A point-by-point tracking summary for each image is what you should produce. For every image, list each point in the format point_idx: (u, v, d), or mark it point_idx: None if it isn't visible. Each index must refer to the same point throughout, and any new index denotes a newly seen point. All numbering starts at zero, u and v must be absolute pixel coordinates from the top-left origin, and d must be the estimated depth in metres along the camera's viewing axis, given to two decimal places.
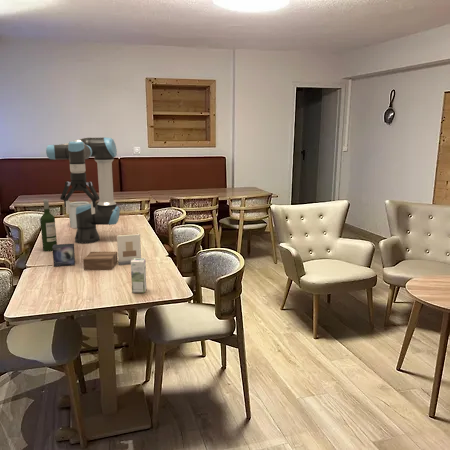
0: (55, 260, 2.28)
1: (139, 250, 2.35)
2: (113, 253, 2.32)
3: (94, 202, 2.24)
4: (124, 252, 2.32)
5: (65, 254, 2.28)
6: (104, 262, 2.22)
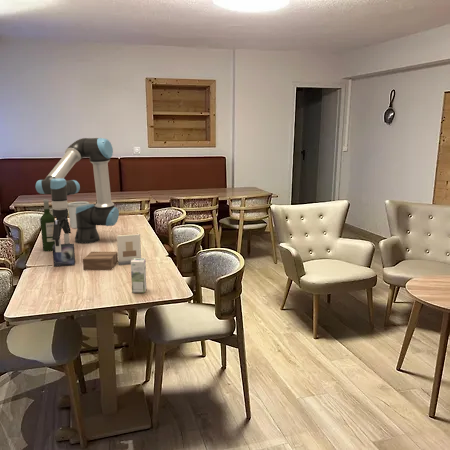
0: (55, 260, 2.28)
1: (139, 250, 2.35)
2: (113, 253, 2.32)
3: (55, 241, 2.21)
4: (124, 252, 2.32)
5: (65, 254, 2.28)
6: (103, 262, 2.22)
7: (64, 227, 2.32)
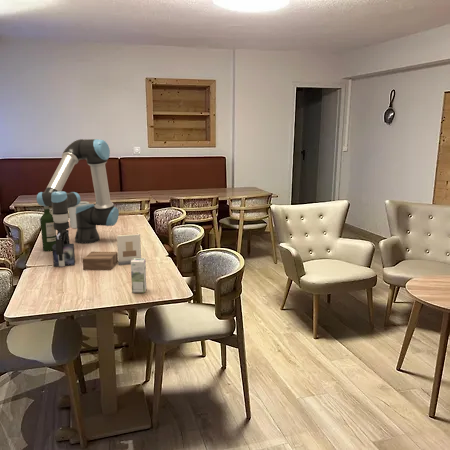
0: (55, 260, 2.28)
1: (139, 250, 2.35)
2: (113, 253, 2.32)
3: (58, 255, 2.26)
4: (124, 252, 2.32)
5: (65, 254, 2.28)
6: (103, 262, 2.22)
7: (64, 241, 2.32)
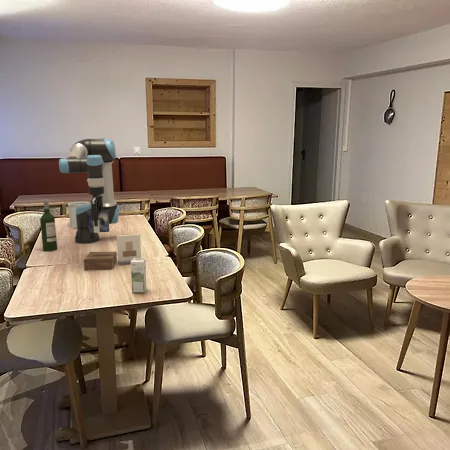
0: (90, 226, 2.21)
1: (139, 250, 2.35)
2: (113, 253, 2.32)
3: (94, 221, 2.19)
4: (124, 252, 2.32)
5: (99, 219, 2.22)
6: (104, 262, 2.22)
7: (99, 207, 2.26)
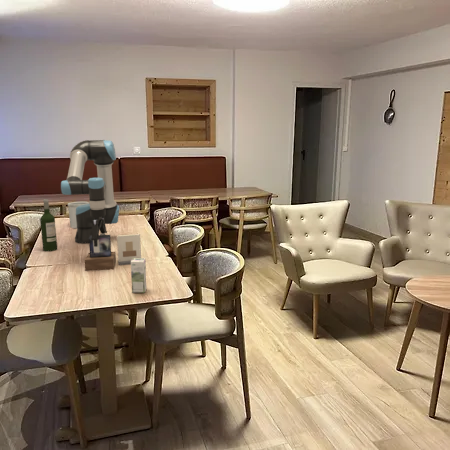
0: (92, 251, 2.24)
1: (139, 250, 2.35)
2: (112, 253, 2.33)
3: (93, 241, 2.19)
4: (124, 252, 2.32)
5: (101, 245, 2.25)
6: (106, 262, 2.23)
7: (101, 227, 2.30)
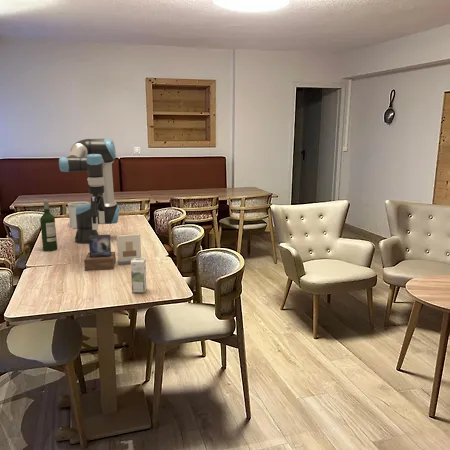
0: (92, 251, 2.24)
1: (139, 250, 2.35)
2: (112, 253, 2.33)
3: None
4: (124, 252, 2.32)
5: (101, 244, 2.24)
6: (105, 262, 2.23)
7: (99, 204, 2.27)
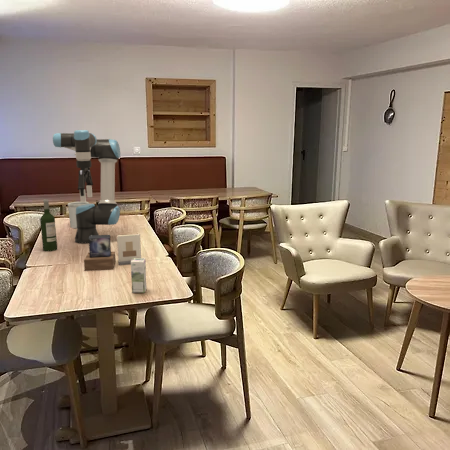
0: (91, 251, 2.24)
1: (139, 250, 2.35)
2: (112, 253, 2.33)
3: (80, 190, 2.28)
4: (124, 252, 2.32)
5: (101, 245, 2.24)
6: (105, 262, 2.23)
7: (87, 179, 2.39)
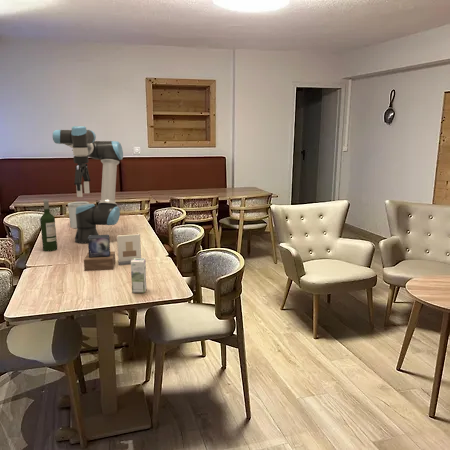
0: (91, 251, 2.24)
1: (139, 250, 2.35)
2: (112, 253, 2.33)
3: (76, 185, 2.31)
4: (124, 252, 2.32)
5: (100, 245, 2.24)
6: (105, 262, 2.22)
7: (84, 174, 2.42)
